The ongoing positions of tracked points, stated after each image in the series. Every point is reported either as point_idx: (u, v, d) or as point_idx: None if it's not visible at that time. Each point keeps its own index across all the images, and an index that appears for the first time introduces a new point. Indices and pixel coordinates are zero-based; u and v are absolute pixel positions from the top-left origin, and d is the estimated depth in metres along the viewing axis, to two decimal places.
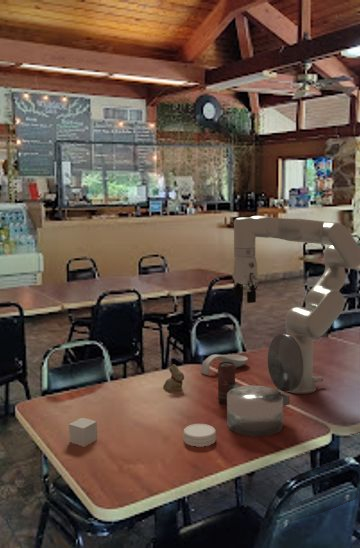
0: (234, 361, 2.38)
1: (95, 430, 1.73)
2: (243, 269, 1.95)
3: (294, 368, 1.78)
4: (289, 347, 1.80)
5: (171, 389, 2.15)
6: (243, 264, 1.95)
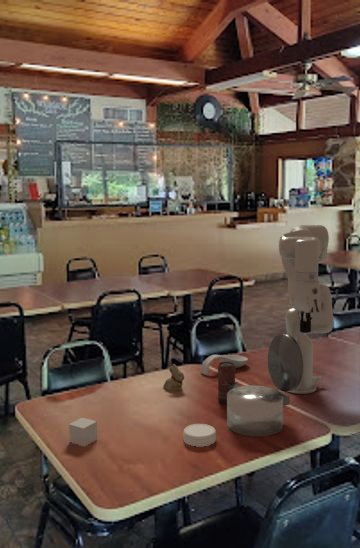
0: (234, 361, 2.37)
1: (95, 430, 1.73)
2: (305, 295, 1.80)
3: (294, 368, 1.78)
4: (289, 347, 1.80)
5: (171, 389, 2.15)
6: (305, 290, 1.80)
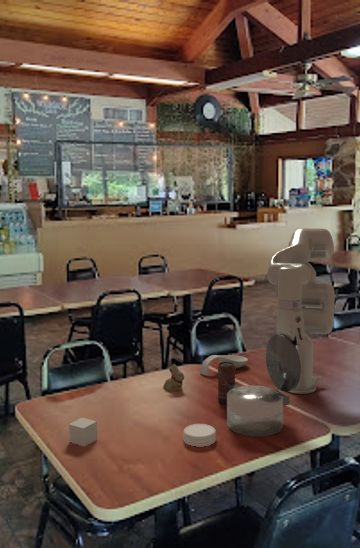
0: (234, 362, 2.37)
1: (95, 430, 1.73)
2: (289, 324, 1.79)
3: (292, 368, 1.77)
4: (286, 347, 1.80)
5: (171, 389, 2.15)
6: (288, 318, 1.79)
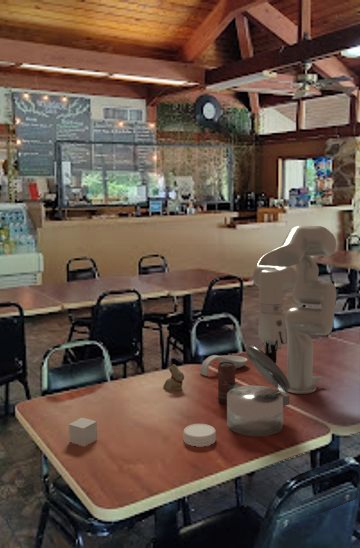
0: (233, 362, 2.36)
1: (95, 430, 1.73)
2: (270, 327, 1.76)
3: (277, 376, 1.75)
4: (261, 359, 1.77)
5: (171, 389, 2.15)
6: (269, 322, 1.76)
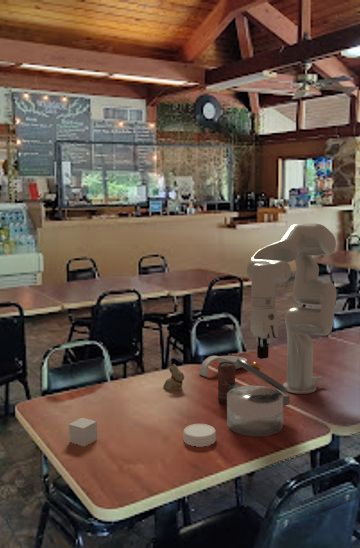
0: None
1: (95, 430, 1.73)
2: (262, 321, 1.75)
3: None
4: (251, 372, 1.76)
5: (171, 389, 2.15)
6: (261, 315, 1.75)
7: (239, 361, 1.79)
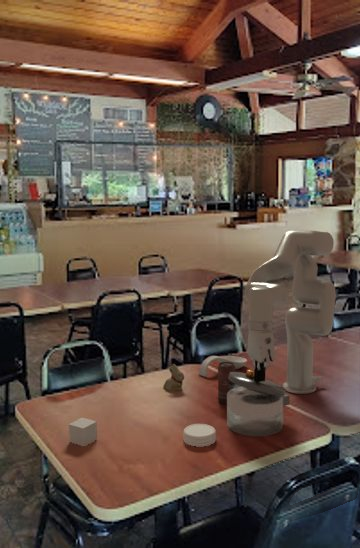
0: None
1: (95, 430, 1.73)
2: (259, 345, 1.76)
3: None
4: None
5: (171, 389, 2.15)
6: (258, 339, 1.76)
7: (231, 378, 1.78)
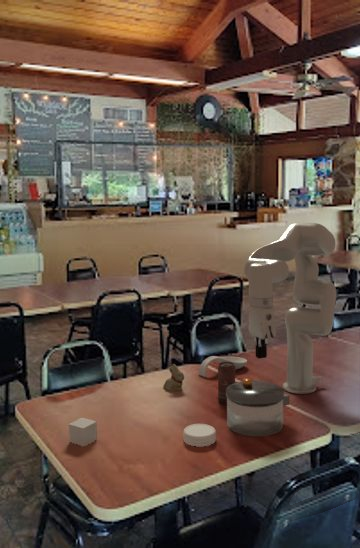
0: None
1: (95, 430, 1.73)
2: (259, 322, 1.75)
3: None
4: None
5: (171, 389, 2.15)
6: (259, 316, 1.75)
7: (228, 396, 1.79)
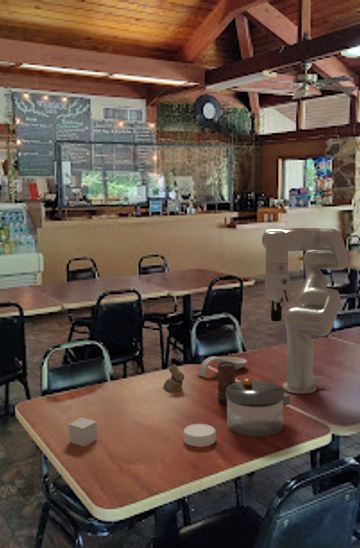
0: None
1: (95, 430, 1.73)
2: (275, 286, 1.87)
3: None
4: None
5: (171, 389, 2.15)
6: (275, 280, 1.87)
7: (228, 396, 1.79)
